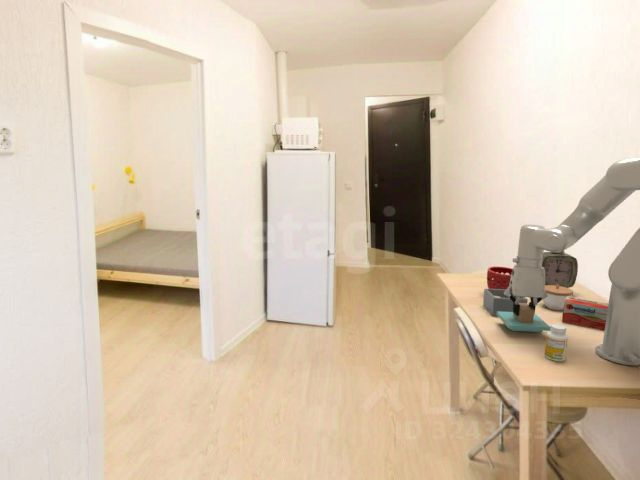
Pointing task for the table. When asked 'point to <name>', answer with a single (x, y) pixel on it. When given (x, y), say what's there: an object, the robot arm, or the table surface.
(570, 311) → the medicine box
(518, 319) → the teal base with post
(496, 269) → the plant pot
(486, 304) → the storage box
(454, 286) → the table surface
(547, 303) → the lidded jar
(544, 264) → the tabletop clock
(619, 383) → the table surface
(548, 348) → the supplement bottle
